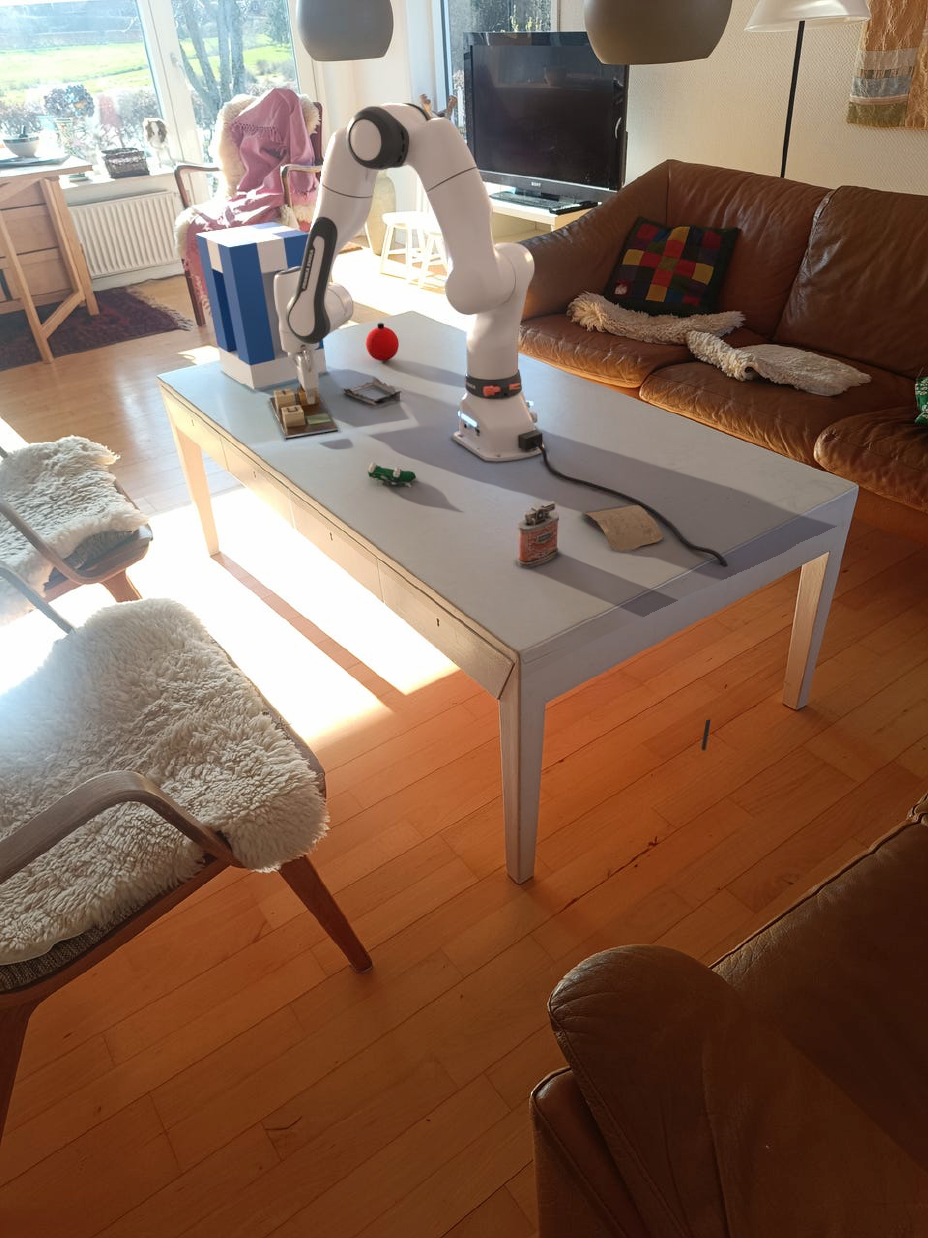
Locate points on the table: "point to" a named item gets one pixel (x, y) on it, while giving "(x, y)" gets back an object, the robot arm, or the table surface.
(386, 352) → the ornament
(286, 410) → the letter board
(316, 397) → the letter s tile
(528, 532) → the lighter
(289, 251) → the toy block
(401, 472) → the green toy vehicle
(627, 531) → the clay tablet
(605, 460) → the table surface
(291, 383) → the table surface
